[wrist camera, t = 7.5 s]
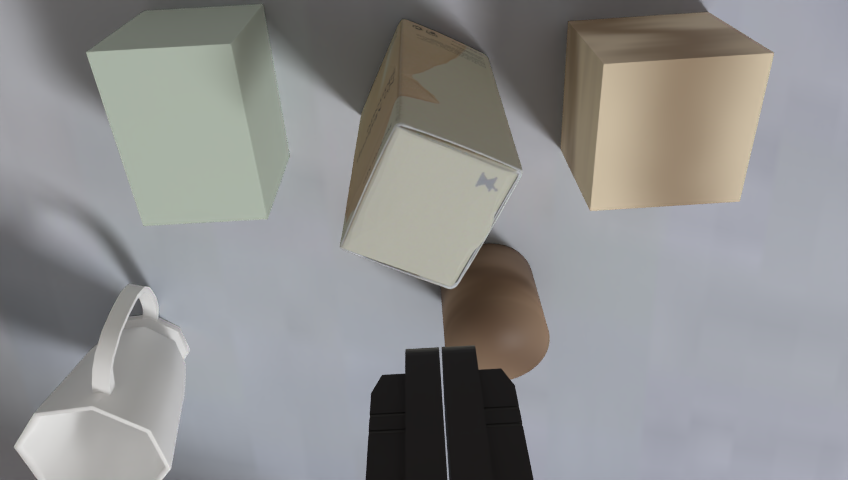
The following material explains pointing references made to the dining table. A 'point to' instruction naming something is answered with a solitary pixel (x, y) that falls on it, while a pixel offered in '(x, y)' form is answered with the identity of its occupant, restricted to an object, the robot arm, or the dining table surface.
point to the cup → (114, 402)
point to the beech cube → (661, 109)
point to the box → (429, 159)
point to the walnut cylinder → (497, 312)
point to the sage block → (195, 112)
